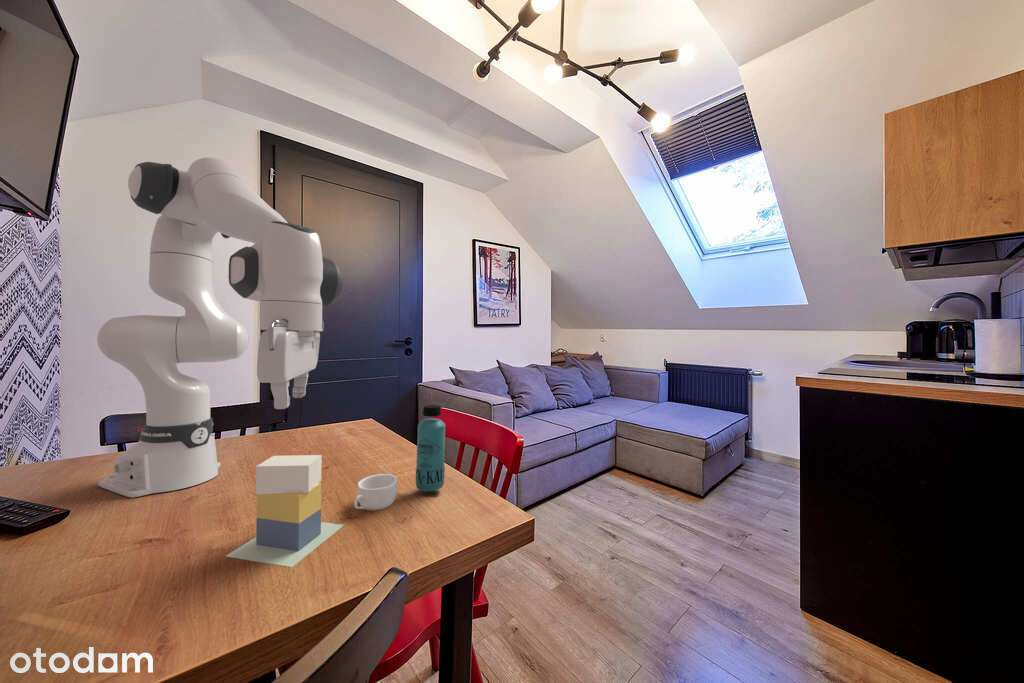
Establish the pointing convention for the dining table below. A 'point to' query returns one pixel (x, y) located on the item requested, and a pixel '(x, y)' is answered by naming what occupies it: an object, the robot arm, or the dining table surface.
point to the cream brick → (288, 474)
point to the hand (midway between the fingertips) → (291, 402)
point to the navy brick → (288, 532)
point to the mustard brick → (289, 505)
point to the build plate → (282, 555)
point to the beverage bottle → (430, 451)
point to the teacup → (376, 492)
